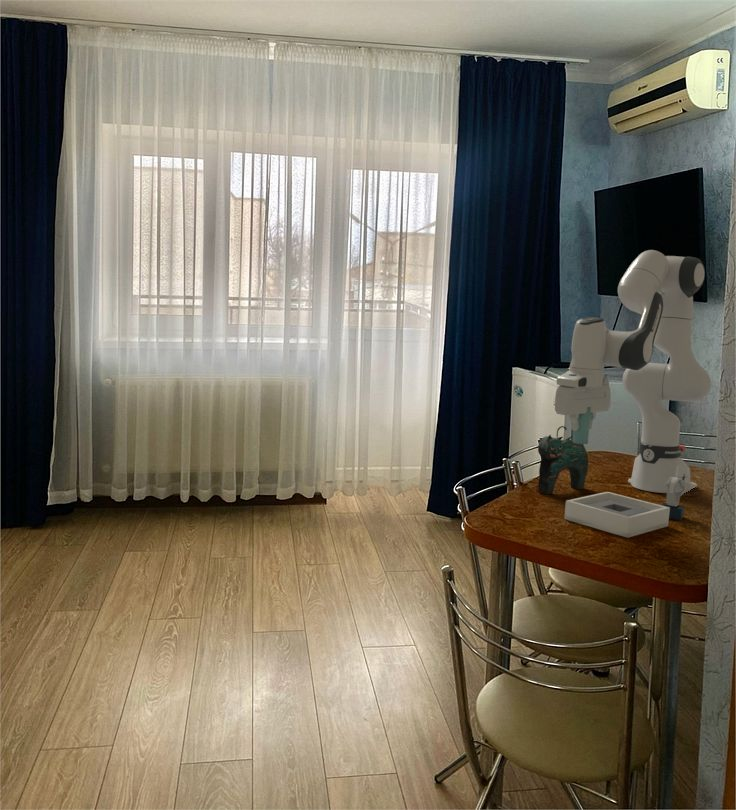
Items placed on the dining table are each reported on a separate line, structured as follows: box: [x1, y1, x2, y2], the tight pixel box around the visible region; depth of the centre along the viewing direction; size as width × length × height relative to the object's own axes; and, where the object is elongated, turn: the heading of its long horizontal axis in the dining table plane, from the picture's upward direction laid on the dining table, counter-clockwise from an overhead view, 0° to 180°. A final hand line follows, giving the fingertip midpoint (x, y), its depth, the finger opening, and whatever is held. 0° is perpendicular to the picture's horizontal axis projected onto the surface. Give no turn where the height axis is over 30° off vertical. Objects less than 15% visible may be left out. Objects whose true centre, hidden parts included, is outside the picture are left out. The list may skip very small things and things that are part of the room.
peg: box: [572, 407, 591, 445], centre depth 226 cm, size 4×4×10 cm
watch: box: [661, 477, 686, 521], centre depth 229 cm, size 6×8×11 cm
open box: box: [563, 491, 670, 539], centre depth 221 cm, size 19×19×5 cm
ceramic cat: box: [537, 425, 589, 495], centre depth 252 cm, size 20×6×20 cm, turn 126°
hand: (581, 429), depth 226 cm, fingers closed on peg, 4 cm apart
